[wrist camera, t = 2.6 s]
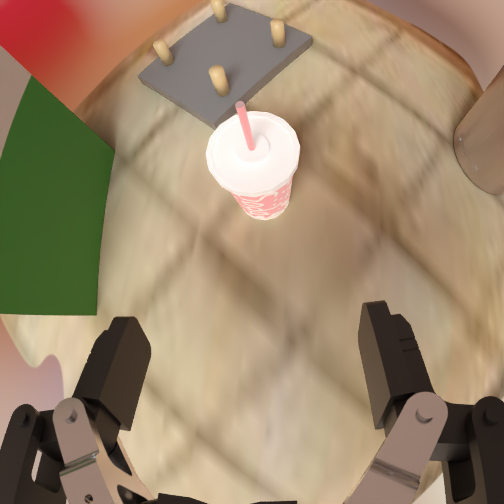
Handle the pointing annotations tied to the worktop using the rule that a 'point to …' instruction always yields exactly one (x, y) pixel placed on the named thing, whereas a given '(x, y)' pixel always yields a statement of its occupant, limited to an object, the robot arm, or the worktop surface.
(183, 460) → the worktop surface
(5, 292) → the hardback book
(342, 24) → the worktop surface
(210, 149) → the beverage cup
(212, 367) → the worktop surface
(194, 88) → the chassis
